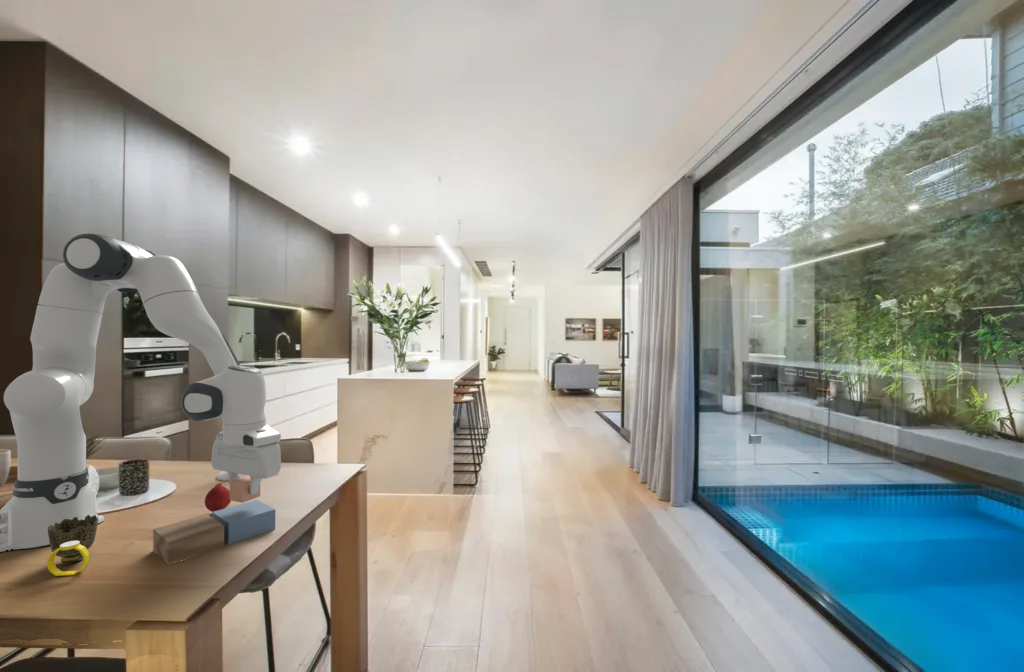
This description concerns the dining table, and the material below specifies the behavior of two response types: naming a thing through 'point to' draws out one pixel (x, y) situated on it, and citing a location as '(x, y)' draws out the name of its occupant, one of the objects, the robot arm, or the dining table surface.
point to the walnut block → (188, 538)
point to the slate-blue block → (245, 520)
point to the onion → (217, 498)
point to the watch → (68, 546)
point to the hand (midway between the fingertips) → (244, 491)
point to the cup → (72, 536)
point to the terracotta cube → (241, 490)
